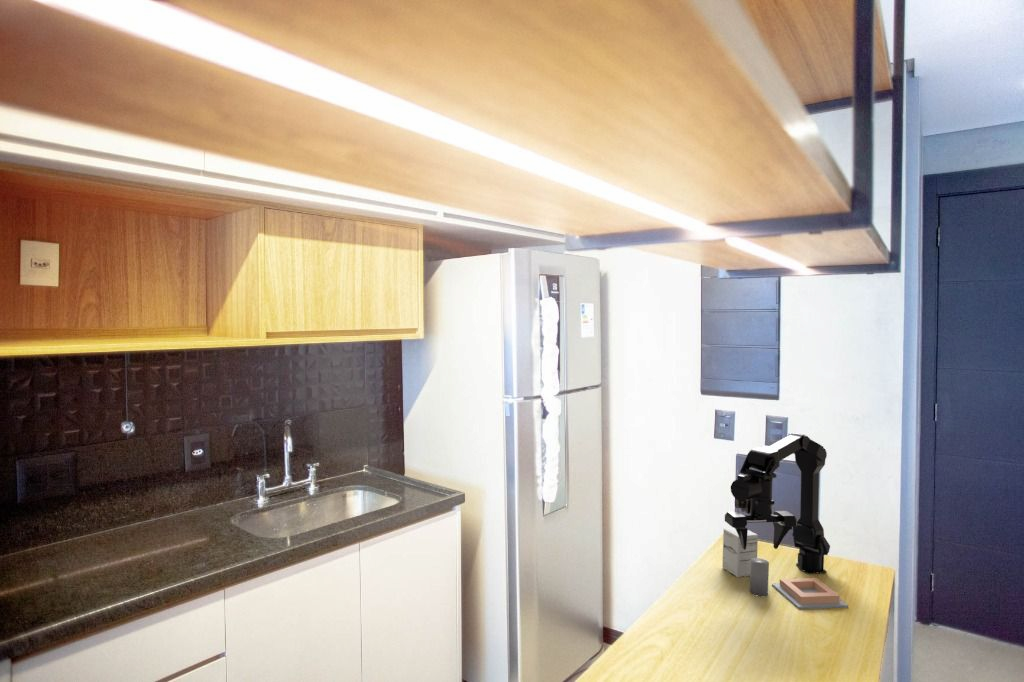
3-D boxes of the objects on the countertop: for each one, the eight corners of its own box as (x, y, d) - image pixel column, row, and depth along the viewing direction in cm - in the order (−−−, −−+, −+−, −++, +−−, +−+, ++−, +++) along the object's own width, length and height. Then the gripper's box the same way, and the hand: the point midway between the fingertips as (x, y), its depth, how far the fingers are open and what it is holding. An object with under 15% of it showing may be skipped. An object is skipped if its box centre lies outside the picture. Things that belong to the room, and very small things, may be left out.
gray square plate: (817, 584, 176) (817, 575, 176) (848, 607, 162) (848, 598, 162) (771, 585, 175) (772, 576, 174) (798, 609, 161) (798, 599, 160)
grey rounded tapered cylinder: (762, 588, 173) (763, 557, 172) (771, 596, 168) (772, 564, 167) (746, 588, 172) (747, 558, 172) (754, 596, 167) (755, 565, 167)
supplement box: (721, 568, 186) (722, 528, 186) (741, 565, 189) (742, 525, 188) (737, 578, 179) (738, 536, 179) (757, 575, 182) (758, 534, 181)
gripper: (778, 485, 178) (776, 537, 178) (717, 486, 176) (715, 538, 177) (798, 497, 167) (797, 552, 167) (734, 498, 165) (732, 553, 166)
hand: (759, 548), depth 170 cm, fingers open, 9 cm apart
